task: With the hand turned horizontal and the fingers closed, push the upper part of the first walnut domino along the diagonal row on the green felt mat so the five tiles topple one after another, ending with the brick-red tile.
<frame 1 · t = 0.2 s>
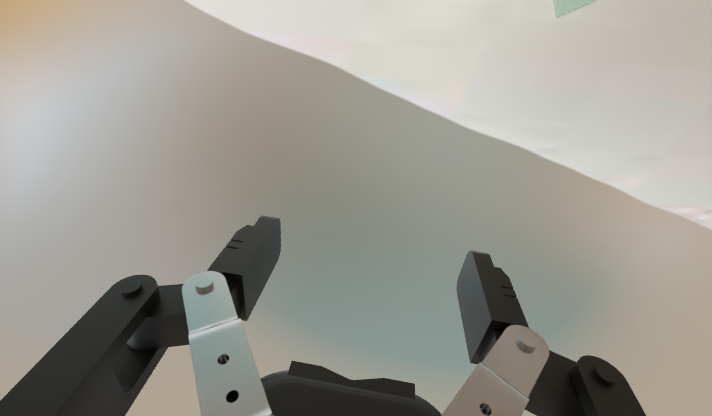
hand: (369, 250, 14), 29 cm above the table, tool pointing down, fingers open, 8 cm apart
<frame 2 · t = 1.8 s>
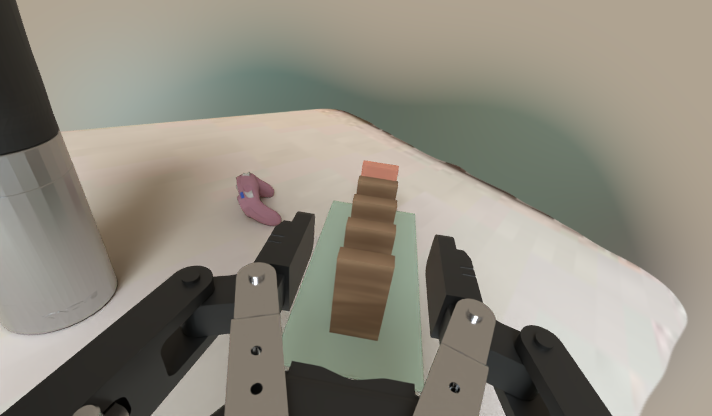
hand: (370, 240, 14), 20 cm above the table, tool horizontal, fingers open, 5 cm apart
domino 4: (368, 242, 46), resting on felt mat
domino 5: (371, 223, 51), resting on felt mat
domino 3: (364, 266, 42), resting on felt mat
video game controller: (258, 212, 51), on the table
felt mat: (364, 267, 42), on the table
domino 2: (359, 294, 38), resting on felt mat
domino 1: (354, 330, 34), resting on felt mat
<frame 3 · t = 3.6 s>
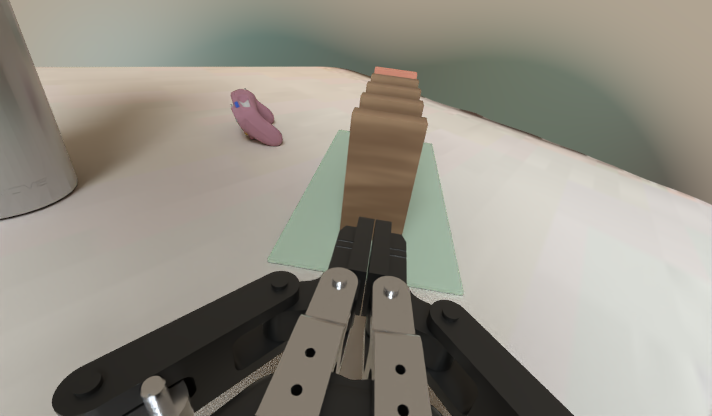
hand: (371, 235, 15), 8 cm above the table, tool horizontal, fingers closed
domino 4: (381, 163, 40), resting on felt mat
domino 5: (383, 148, 44), resting on felt mat
domino 3: (378, 181, 35), resting on felt mat
video game controller: (256, 136, 44), on the table
felt mat: (378, 183, 36), on the table
domino 2: (374, 204, 31), resting on felt mat
domino 1: (370, 234, 27), resting on felt mat
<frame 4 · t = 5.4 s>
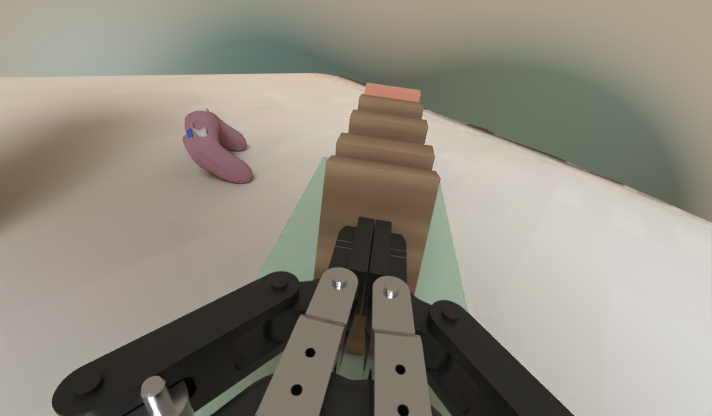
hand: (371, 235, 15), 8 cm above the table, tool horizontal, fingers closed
domino 4: (373, 207, 31), resting on felt mat
domino 5: (377, 184, 35), resting on felt mat
domino 3: (369, 238, 26), resting on felt mat
video game controller: (221, 168, 35), on the table
felt mat: (369, 241, 27), on the table
domino 2: (362, 282, 22), resting on felt mat
domino 1: (353, 343, 18), resting on felt mat, tilted 13°
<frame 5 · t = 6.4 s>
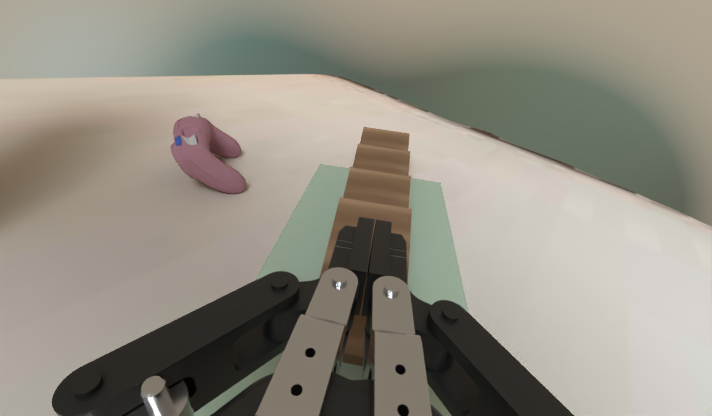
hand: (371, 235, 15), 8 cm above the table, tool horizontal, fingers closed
domino 4: (374, 205, 29), point 1 cm above the table, tilted 70°, touching domino 3, domino 5
domino 3: (369, 237, 25), point 1 cm above the table, tilted 71°, touching domino 2, domino 4, felt mat
video game controller: (214, 176, 34), on the table
felt mat: (366, 259, 25), on the table
domino 2: (362, 287, 21), point 1 cm above the table, tilted 72°, touching domino 1, domino 3, felt mat
domino 1: (351, 359, 16), point 1 cm above the table, tilted 72°, touching domino 2, felt mat
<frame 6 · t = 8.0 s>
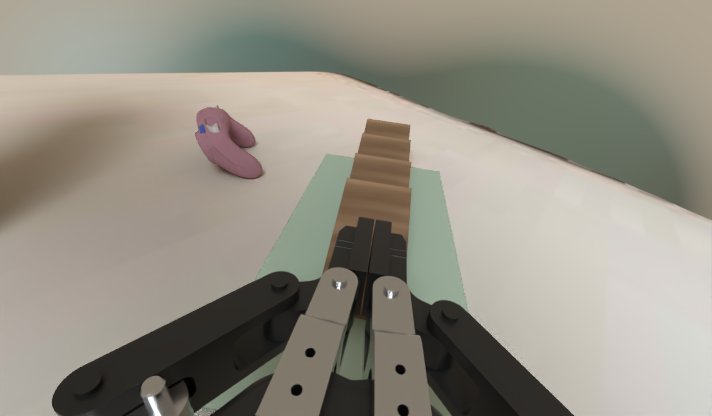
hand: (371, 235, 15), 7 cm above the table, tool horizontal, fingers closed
domino 4: (377, 189, 32), point 1 cm above the table, tilted 70°, touching domino 3, domino 5
domino 3: (373, 217, 28), point 1 cm above the table, tilted 71°, touching domino 2, domino 4, felt mat
video game controller: (231, 164, 36), on the table
felt mat: (370, 236, 27), on the table
domino 2: (366, 256, 23), point 1 cm above the table, tilted 72°, touching domino 1, domino 3, felt mat
domino 1: (357, 313, 19), point 1 cm above the table, tilted 72°, touching domino 2, felt mat
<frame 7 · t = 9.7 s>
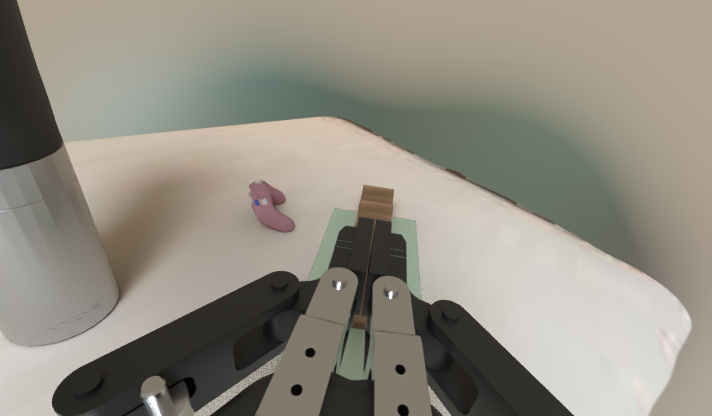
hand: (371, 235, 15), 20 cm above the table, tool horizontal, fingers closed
domino 4: (371, 239, 47), point 1 cm above the table, tilted 70°, touching domino 3, domino 5
domino 3: (367, 262, 43), point 1 cm above the table, tilted 71°, touching domino 2, domino 4, felt mat
video game controller: (271, 219, 52), on the table
felt mat: (365, 275, 42), on the table
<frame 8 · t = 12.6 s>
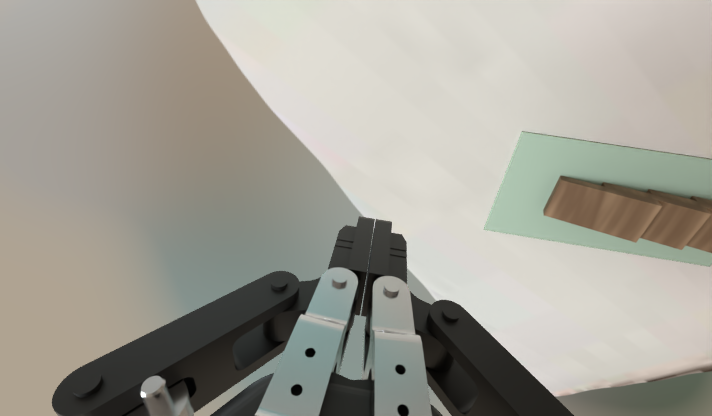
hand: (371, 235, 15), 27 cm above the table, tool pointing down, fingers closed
domino 3: (638, 209, 40), point 1 cm above the table, tilted 71°, touching domino 2, domino 4, felt mat
felt mat: (621, 203, 40), on the table
domino 2: (593, 202, 40), point 1 cm above the table, tilted 72°, touching domino 1, domino 3, felt mat
domino 1: (551, 195, 40), point 1 cm above the table, tilted 72°, touching domino 2, felt mat
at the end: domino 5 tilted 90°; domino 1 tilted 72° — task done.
